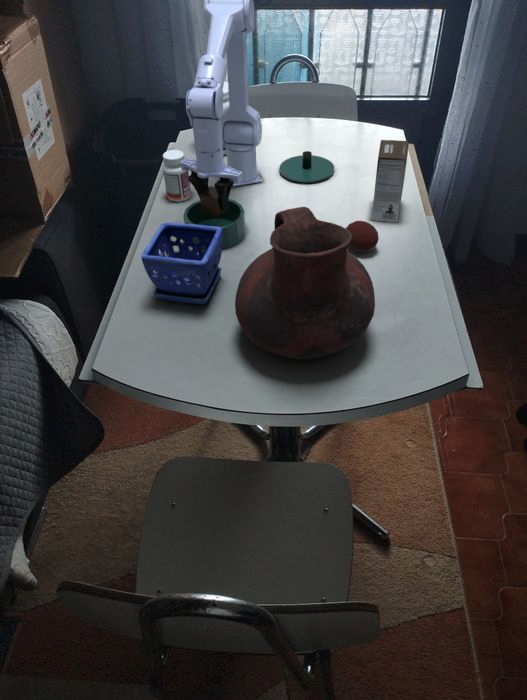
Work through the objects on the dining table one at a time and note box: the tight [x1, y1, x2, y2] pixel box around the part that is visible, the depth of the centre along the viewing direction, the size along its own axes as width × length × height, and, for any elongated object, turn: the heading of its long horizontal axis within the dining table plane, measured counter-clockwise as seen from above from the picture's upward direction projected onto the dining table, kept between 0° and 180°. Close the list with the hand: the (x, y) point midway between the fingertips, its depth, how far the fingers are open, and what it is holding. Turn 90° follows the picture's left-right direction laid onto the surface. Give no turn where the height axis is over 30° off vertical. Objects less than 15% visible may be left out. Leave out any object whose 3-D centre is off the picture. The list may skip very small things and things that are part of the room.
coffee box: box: [371, 139, 410, 223], centre depth 138 cm, size 9×6×16 cm
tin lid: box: [278, 150, 335, 183], centre depth 158 cm, size 15×15×5 cm
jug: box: [234, 206, 376, 360], centre depth 104 cm, size 25×25×25 cm
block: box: [199, 185, 228, 217], centre depth 134 cm, size 4×4×4 cm
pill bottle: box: [162, 149, 192, 203], centre depth 148 cm, size 6×6×11 cm
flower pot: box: [141, 222, 223, 305], centre depth 120 cm, size 13×13×12 cm
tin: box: [183, 198, 247, 251], centre depth 137 cm, size 14×14×6 cm
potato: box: [346, 220, 380, 252], centre depth 131 cm, size 7×8×6 cm
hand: (214, 205), depth 134 cm, fingers closed on block, 4 cm apart
